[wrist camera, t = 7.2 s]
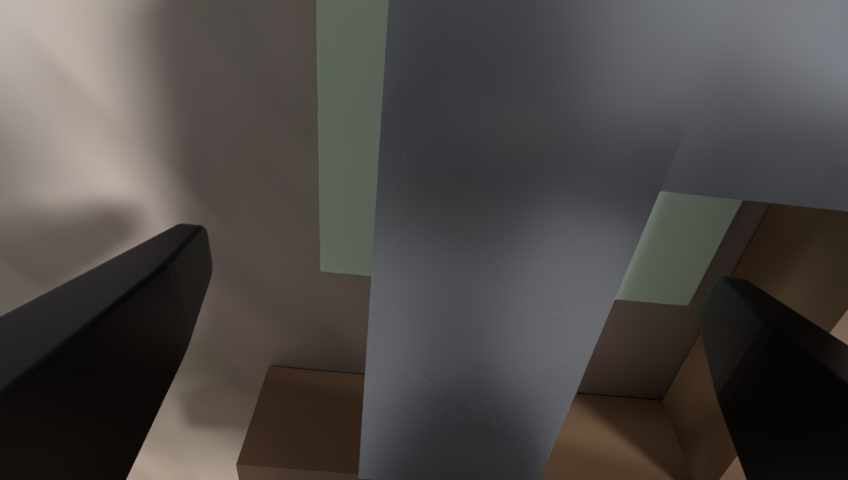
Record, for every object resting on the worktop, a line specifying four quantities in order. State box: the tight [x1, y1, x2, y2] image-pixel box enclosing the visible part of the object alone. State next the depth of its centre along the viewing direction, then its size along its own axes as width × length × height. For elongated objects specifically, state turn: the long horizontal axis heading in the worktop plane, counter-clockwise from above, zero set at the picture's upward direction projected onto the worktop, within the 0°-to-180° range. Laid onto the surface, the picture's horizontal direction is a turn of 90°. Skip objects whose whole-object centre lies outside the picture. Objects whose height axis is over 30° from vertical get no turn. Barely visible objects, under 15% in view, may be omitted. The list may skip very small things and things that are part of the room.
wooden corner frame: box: [236, 203, 848, 480], centre depth 10 cm, size 18×13×3 cm
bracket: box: [358, 0, 848, 480], centre depth 9 cm, size 9×6×5 cm, turn 174°
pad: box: [316, 0, 743, 306], centre depth 11 cm, size 9×9×1 cm
